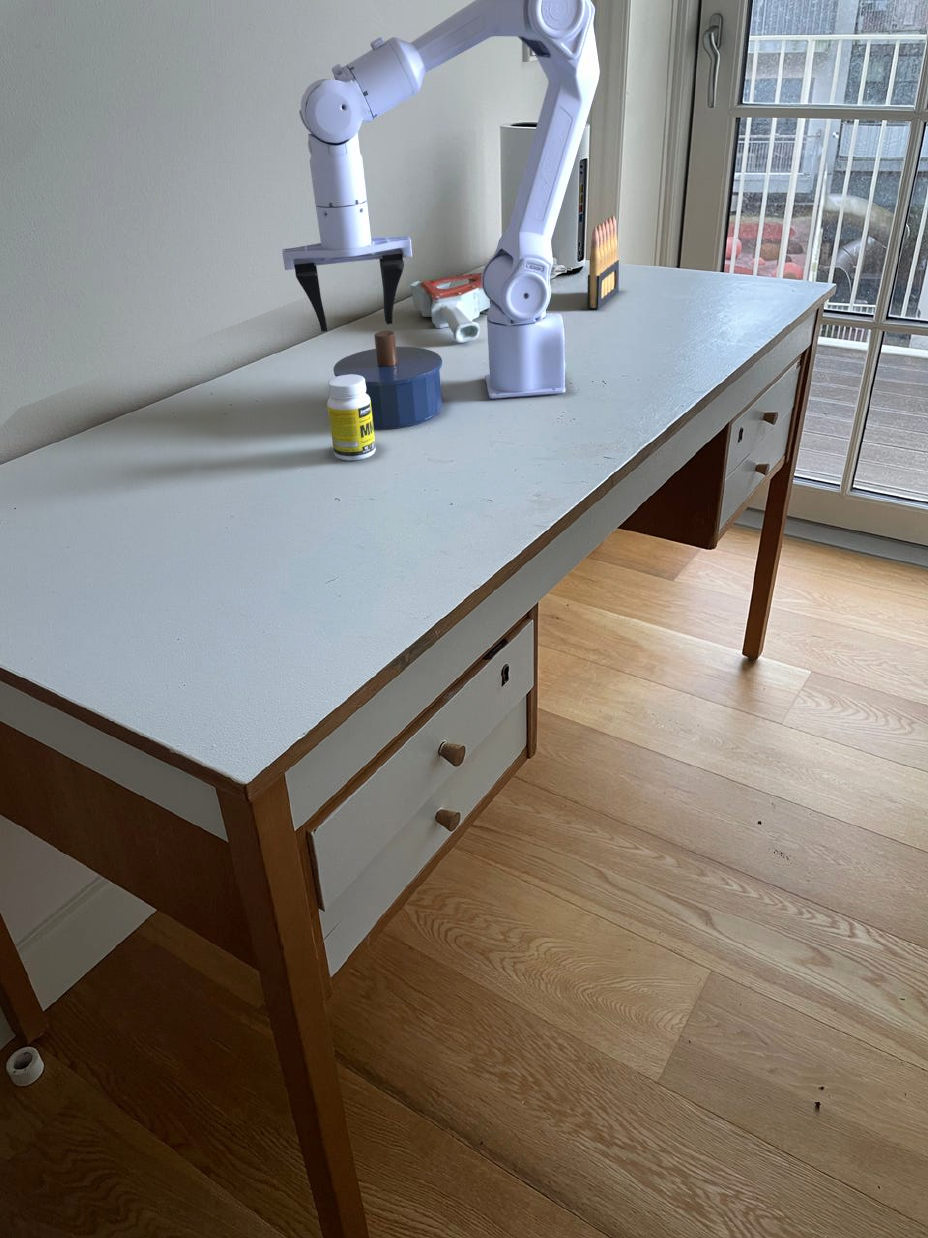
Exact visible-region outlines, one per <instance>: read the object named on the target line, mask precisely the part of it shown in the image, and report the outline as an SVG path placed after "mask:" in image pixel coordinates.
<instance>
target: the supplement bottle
mask: <svg viewBox="0 0 928 1238" xmlns="http://www.w3.org/2000/svg"><path fill="white" fill-rule="evenodd" d="M327 388H328V389H327V390H328V395H329V396H330V397H329V398H328V400H327V404H326V406H327V413H328V419H329V426H330V435H331V442H332V450H333V454H334V456H335V457H336V458H337V459H339V460H342V461H361V460H364V459H368V458H370V457H371V456H372V455H374V454H375V453H376V449H377V447H376V438H375V436H376V435H375V429H374V428H373V419H372V410H371V401H370V397H369V396H368V395H367V394H366V393H365V392H366V385H365V379H364V377H362V376H360V375H341V376H337V377H336V376H334V377H332V378H330V379H328V382H327Z"/></svg>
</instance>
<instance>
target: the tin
mask: <svg viewBox="0 0 928 1238" xmlns="http://www.w3.org/2000/svg"><path fill="white" fill-rule="evenodd" d="M441 387H442V386H441V373H440V369H439V370H438V371H437V372H436V373H434V374H432V375H430V376H428V377H426V378H423V379H420V380H417V381H413V382H409V383H404V384H397V385H388V386H366V392H365V393H366V394H367V395H368V396H369V397H370V401H371V410H372V419H373V428H374V430H395V429H396V430H397V429H403V428H410V427H412V426H413V427H414V426H418V425H420V424H423V423H426V422H428V421H430V420H432V419H434V418H436V417H437V416H439V415H440V414H441V412H442V410H443V400H442V398H443V397H442V388H441Z"/></svg>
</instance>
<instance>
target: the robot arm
mask: <svg viewBox="0 0 928 1238" xmlns="http://www.w3.org/2000/svg"><path fill="white" fill-rule="evenodd" d="M595 8H596V7H595V6H594V4H593V2H592V1H591V0H474V1H472V2H470V3H469V4H467V5H466V6H465V7H463V8H462V9H460V10H459V11H457V12H456V13H454V14H452V15H450V16H449V17H448V18H446V19H445V20H443V21H442V22H440V23H438V24H437V25H436V26H434V27H432V28H431V29H429V30H428V31H426V32H424V33H423V34H422V35H420V36H418V37H416V39H414V40H413V41H411V42H409V41H405V40H403V39H401V38H398V37H396V36H392V37H390V38H388V39H387V40H385V39H384V37H381V36H380V37H377V38H376V39H374V40H373V41H371V42H370V43H369V44H370V47H371V50H369V51H367V52H365V53H363V54H362V55H361V56H359V57H357V58H356V59H353V60H352V61H350V62H349V63H347V64H346V65H344V66H342V65H341V64H340V63H338V64H336V65H334V66H333V67H331V72H332V74H333V77H334V78H322V79H318V80H315V81H314V82H312V83H310V85H309V86H307V87H306V89H305V91H304V93H303V94H302V96H301V101H300V110H299V111H298V112H299V116H300V120H301V122H302V124H303V126H304V127H305V129H306V130H307V131H308V132H309V133H308V134H307V136H308V137H307V138H308V140H307V145H308V146H307V147H308V152H309V154H310V158H309V167H310V175H311V181H312V182H311V184H312V189H313V190H312V191H313V196H314V197H313V198H314V204H315V210H316V217H317V223H318V224H317V226H318V232H319V239H320V240H319V241H320V242H318V243H311V244H307V245H301V246H295V247H289V248H288V247H287V248H282V250H281V251H282V252H281V253H282V259H283V266H284V270H285V271H290V270H294V274H295V277H296V279H297V281H298V283H299V285H300V286H301V288H302V289H303V291H304V293H305V294H306V296H307V298H308V299H309V302H310V303H311V305H312V308H313V310H314V312H315V315H316V317H317V320H318V323H319V327H320V331H321V332H323V333H324V332H328V327H327V325H328V324H327V320H326V319H327V318H326V314H325V309H324V305H323V301H322V296H321V288H320V282H319V275H318V274H319V273H318V267H317V266H325V265H334V264H344V263H355V262H361V261H362V262H363V261H364V262H365V261H373V260H378V261H379V268H380V274H381V275H380V276H381V282H382V283H381V284H382V293H383V295H382V296H383V313H384V314H383V315H384V322H385V325H392V324H393V312H394V304H395V299H396V294H397V290H398V287H399V284H400V281H401V277H402V274H403V272H404V268H405V261H404V259H406V258H407V259H408V258H413V250H412V249H413V248H412V239H411V238H410V236H409V235H408V236H394V237H393V236H392V237H390V236H389V237H372V235H371V234H372V233H371V226H370V225H371V224H370V215H369V205H368V197H367V189H366V179H365V170H364V162H363V155H362V154H361V152H360V151H361V150H360V142H359V130H360V128H361V126H362V124H363V123H362V122H367V123H370V122H372V121H373V120H375V119H377V118H379V117H380V116H383V115H384V114H385V113H387V112H388V111H390V110H392V109H394V108H395V107H397V106H398V105H401V104H402V103H404V102H405V101H408V100H409V99H411V98H413V97H414V96H416V95H417V94H419V93H420V90H421V88H422V84H423V81H424V78H425V75H426V73H428V72H430V71H432V70H433V69H435V68H437V67H439V66H441V65H442V64H445V63H446V62H448V61H450V60H451V59H453V58H456V57H457V56H458V55H461V54H463V53H464V52H466V51H468V50H470V49H472V48H474V47H475V46H477V45H478V44H481V43H483V42H484V41H486V40H488V39H489V38H492V37H516V38H518V39H519V40H520V41H521V42H522V44H524V45H525V46H526V47H527V48H529V50H531V51H532V53H534V55H535V57H536V60H537V61H538V63H539V65H540V67H541V69H542V70H543V71H542V72H543V73H544V74H545V77H546V79H547V81H548V84H547V88H546V92H545V95H544V98H543V101H542V102H543V103H542V105H541V109H540V113H539V116H538V120H537V123H536V127H535V130H534V133H533V138H532V142H531V146H530V150H529V152H528V157H527V159H526V163H525V167H524V171H523V174H522V178H521V182H520V185H519V188H518V192H517V196H516V200H515V203H514V207H513V210H512V213H511V218H510V221H509V225H508V227H507V228H506V230H505V231H504V233H503V234H502V235H501V237H500V238H499V239H498V242H497V246H496V249H495V251H494V253H493V255H492V257H490V258H489V260H488V261H487V262H486V263H485V265H484V266H483V269H482V272H481V273H482V277H481V284H482V288H483V291H484V293H485V294H486V296H487V297H488V298H489V299H490V300H491V304H490V308H489V310H488V312H487V314H486V325H487V326H486V328H487V347H488V368H489V370H488V371H489V374H488V373H487V374H485V376H484V377H485V378H484V379H485V383H486V388H487V393H488V398H489V399H503V398H515V397H518V398H519V397H529V396H542V395H554V394H555V395H556V394H564V393H566V387H565V385H566V382H565V379H566V377H565V374H566V360H565V330H564V321H563V316H562V314H561V313H549V312H547V311H546V310H547V309H548V306H549V304H550V301H551V295H552V288H551V287H552V286H551V282H550V281H551V279H550V278H551V271H552V268H553V265H554V259H553V251H552V238H553V234H554V231H555V227H556V225H557V221H558V217H559V214H560V211H561V208H562V205H563V204H562V203H563V201H564V197H565V194H566V191H567V188H568V184H569V180H570V178H571V174H572V171H573V167H574V164H575V160H576V157H577V154H578V151H579V147H580V145H581V140H582V137H583V133H584V131H585V127H586V124H587V120H588V117H589V114H590V110H591V107H592V104H593V100H594V96H595V93H596V90H597V86H598V83H599V79H600V73H601V72H600V64H599V57H598V49H597V43H596V36H595V29H594V18H595V12H596V9H595ZM403 258H404V259H403Z"/></svg>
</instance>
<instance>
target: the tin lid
mask: <svg viewBox="0 0 928 1238" xmlns="http://www.w3.org/2000/svg"><path fill="white" fill-rule="evenodd" d="M374 343H375V345H374V346H375V348H372V349H366V350H362V351H359V352H355V353H352V354H349V355H347V356H345V357H343V358H341V359H340V360H339V361H337V362H336V363H335V364H334V366H333V375H334V377H337V376H341V375H360V376H362V377H364V379H365V385H366V386H388V385H397V384H404V383H409V382H413V381H417V380H420V379H423V378H426V377H428V376H430V375H432V374H434V373H436V372H437V371H438V370H439V371H440V369H441V368H442V365H443V359H442V356H441V355H440V354H438V353H437V352H435V351H433V350H430V349H427V348H421V347H414V346H397V342H396V333H395V331H393V330H379V331H377V332H375V333H374Z"/></svg>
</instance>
